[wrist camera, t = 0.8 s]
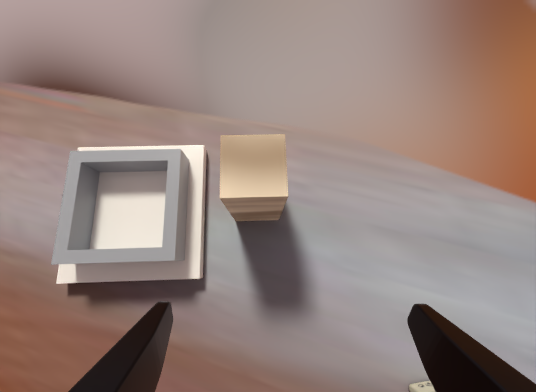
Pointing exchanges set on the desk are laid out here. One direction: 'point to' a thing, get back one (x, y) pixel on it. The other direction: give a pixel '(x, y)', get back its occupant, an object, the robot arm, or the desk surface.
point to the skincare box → (421, 387)
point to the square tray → (132, 214)
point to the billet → (253, 176)
